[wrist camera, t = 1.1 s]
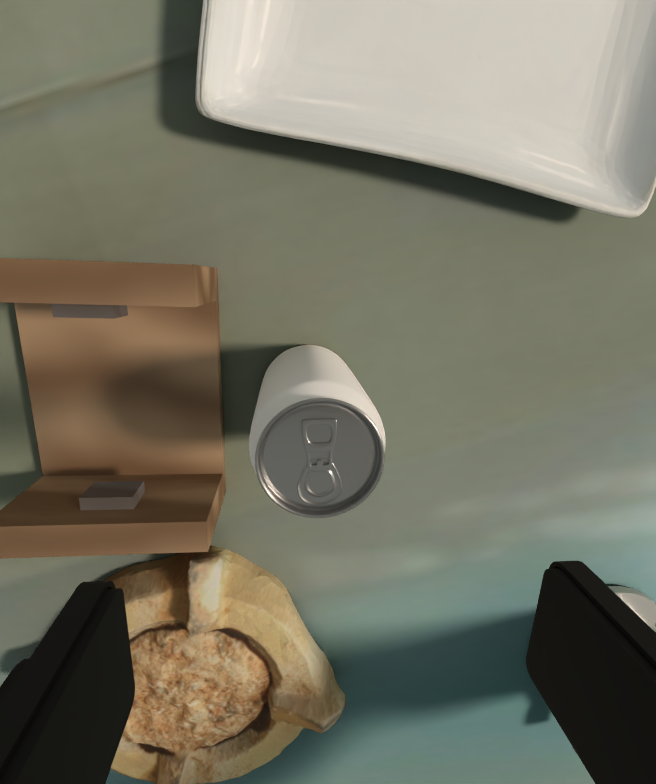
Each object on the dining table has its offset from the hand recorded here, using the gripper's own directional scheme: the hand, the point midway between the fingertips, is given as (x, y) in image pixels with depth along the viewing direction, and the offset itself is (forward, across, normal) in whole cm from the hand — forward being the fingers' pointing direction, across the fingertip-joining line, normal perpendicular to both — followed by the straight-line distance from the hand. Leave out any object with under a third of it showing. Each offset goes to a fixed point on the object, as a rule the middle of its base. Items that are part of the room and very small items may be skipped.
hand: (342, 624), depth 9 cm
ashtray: (+21, +9, +24) cm, 34 cm away
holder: (+21, +12, 0) cm, 24 cm away
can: (+21, 0, 0) cm, 21 cm away
